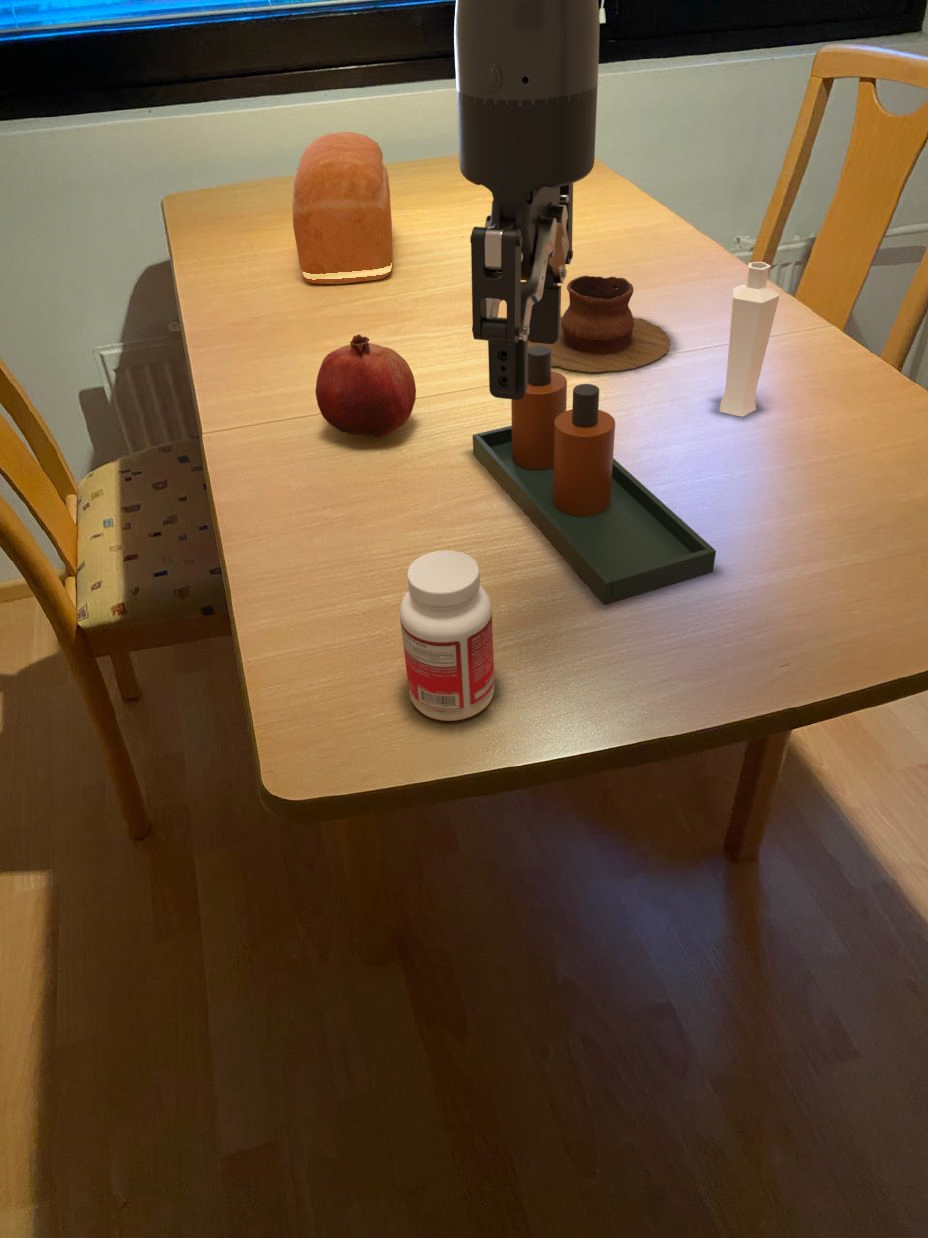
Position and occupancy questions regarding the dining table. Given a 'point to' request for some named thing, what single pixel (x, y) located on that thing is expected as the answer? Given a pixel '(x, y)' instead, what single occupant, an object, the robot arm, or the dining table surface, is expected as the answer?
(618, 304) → the ceramic pot
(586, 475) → the amber bottle middle
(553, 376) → the amber bottle far
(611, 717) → the dining table surface
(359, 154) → the bread
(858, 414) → the dining table surface
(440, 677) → the pill bottle
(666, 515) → the tray
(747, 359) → the white faceted vase
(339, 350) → the fruit
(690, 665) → the dining table surface
